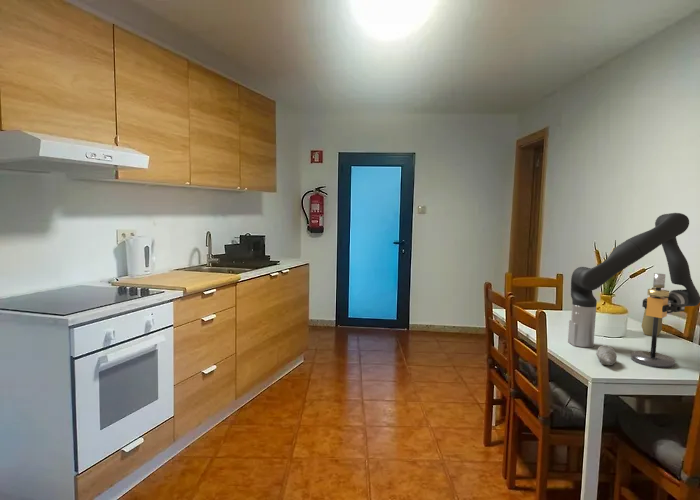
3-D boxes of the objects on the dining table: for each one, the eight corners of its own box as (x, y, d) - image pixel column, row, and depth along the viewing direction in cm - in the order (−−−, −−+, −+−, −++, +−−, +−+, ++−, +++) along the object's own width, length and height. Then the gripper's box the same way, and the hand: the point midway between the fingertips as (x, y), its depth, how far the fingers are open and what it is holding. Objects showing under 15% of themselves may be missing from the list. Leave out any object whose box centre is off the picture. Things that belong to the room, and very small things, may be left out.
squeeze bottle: (655, 338, 210) (658, 299, 208) (637, 333, 217) (640, 295, 215) (665, 336, 213) (668, 297, 212) (647, 331, 221) (650, 294, 219)
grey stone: (598, 360, 168) (603, 339, 170) (592, 363, 180) (597, 344, 182) (617, 367, 166) (622, 345, 167) (610, 369, 178) (615, 349, 179)
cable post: (666, 370, 167) (675, 278, 164) (625, 360, 178) (631, 273, 175) (680, 363, 176) (688, 275, 172) (639, 353, 187) (646, 270, 183)
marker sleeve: (661, 318, 171) (663, 299, 171) (645, 315, 175) (647, 297, 175) (666, 316, 175) (668, 298, 174) (651, 313, 179) (652, 295, 178)
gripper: (650, 290, 189) (634, 294, 178) (692, 296, 178) (677, 301, 167) (649, 308, 190) (632, 313, 179) (691, 315, 178) (675, 321, 168)
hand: (654, 307), depth 173 cm, fingers closed on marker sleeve, 5 cm apart
